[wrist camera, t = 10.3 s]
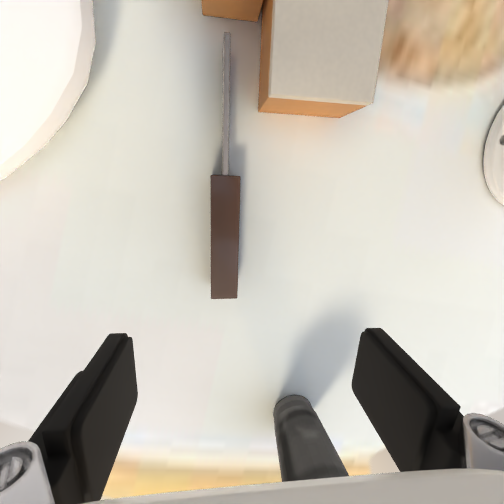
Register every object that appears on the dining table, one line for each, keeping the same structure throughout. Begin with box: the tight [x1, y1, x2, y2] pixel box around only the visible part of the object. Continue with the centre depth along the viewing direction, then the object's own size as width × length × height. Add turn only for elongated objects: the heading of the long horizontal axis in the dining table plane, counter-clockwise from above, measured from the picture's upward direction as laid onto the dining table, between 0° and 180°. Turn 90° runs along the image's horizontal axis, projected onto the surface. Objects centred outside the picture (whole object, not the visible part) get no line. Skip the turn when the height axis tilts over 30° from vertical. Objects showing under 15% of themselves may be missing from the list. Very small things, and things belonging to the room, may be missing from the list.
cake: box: [258, 0, 389, 118], centre depth 18 cm, size 7×8×5 cm
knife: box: [211, 32, 240, 299], centre depth 21 cm, size 2×19×3 cm, turn 178°
